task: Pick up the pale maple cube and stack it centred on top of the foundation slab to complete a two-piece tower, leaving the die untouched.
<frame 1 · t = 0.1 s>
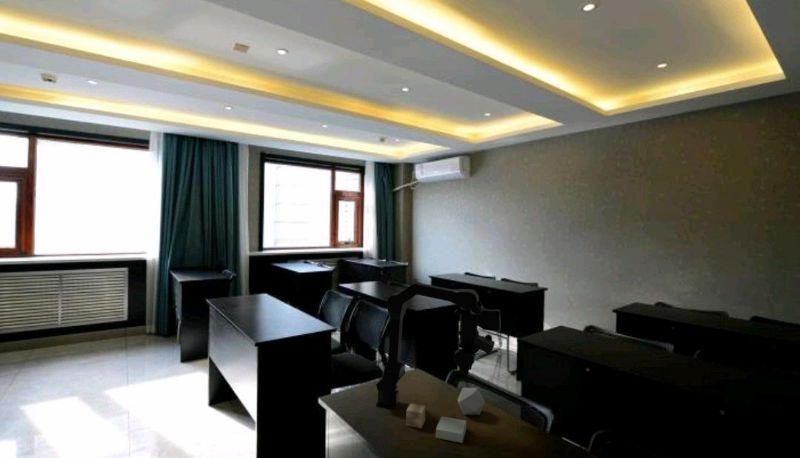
hand: (467, 374, 125), 15 cm above the table, fingers open, 9 cm apart
foundation slab: (451, 434, 116), on the table
die: (470, 413, 129), on the table
maple cube: (415, 423, 122), on the table
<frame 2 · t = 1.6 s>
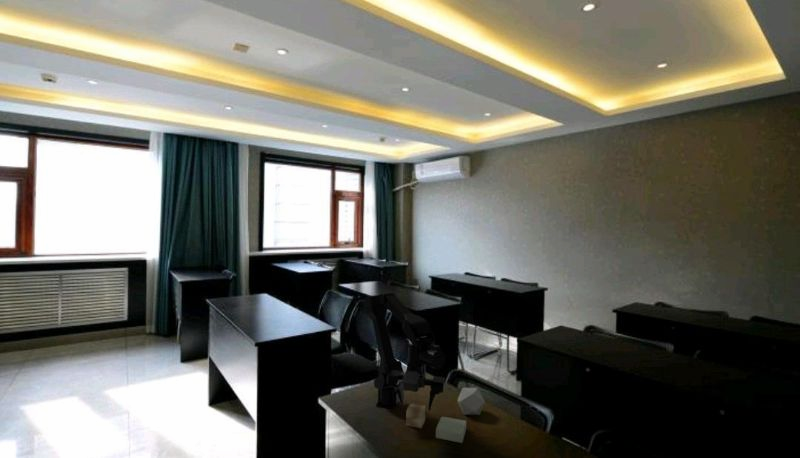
hand: (415, 406, 122), 5 cm above the table, fingers open, 9 cm apart
nothing on the table moved.
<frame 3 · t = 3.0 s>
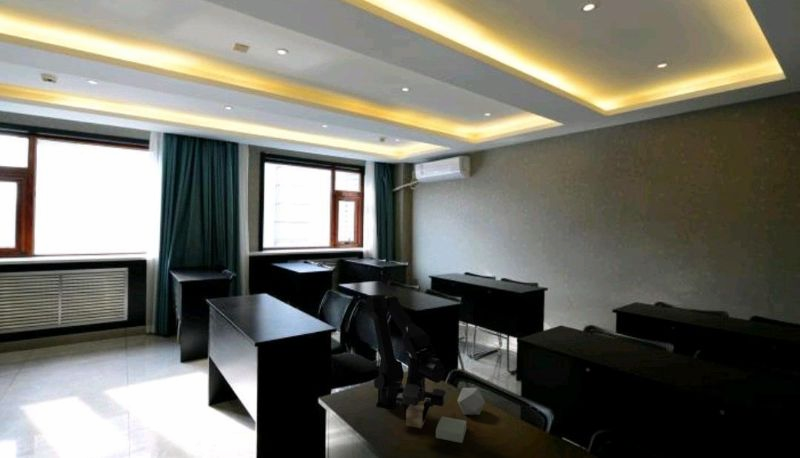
hand: (415, 419, 122), 1 cm above the table, fingers closed on maple cube, 5 cm apart
maple cube: (415, 422, 122), on the table, touching gripper
everything else where it was.
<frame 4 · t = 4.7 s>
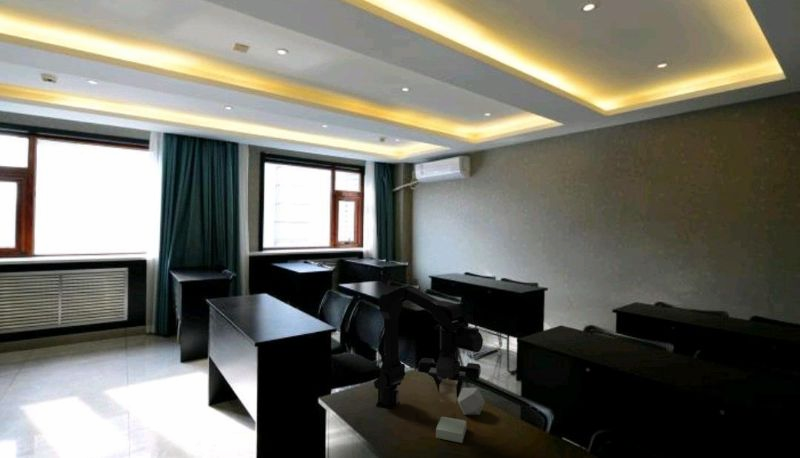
hand: (449, 395, 116), 12 cm above the table, fingers closed on maple cube, 5 cm apart
maple cube: (449, 398, 116), point 11 cm above the table, touching gripper
everything else where it was.
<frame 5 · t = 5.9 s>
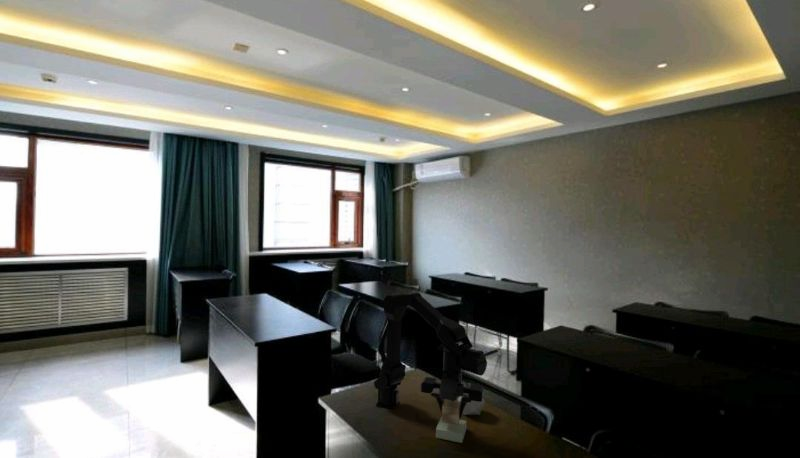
hand: (451, 416, 116), 5 cm above the table, fingers closed on maple cube, 5 cm apart
maple cube: (451, 419, 116), point 4 cm above the table, touching gripper
everything else where it was.
when the fingers open (5 cm above the table, at t = 6.6 s): maple cube drops 2 cm, resting on foundation slab.
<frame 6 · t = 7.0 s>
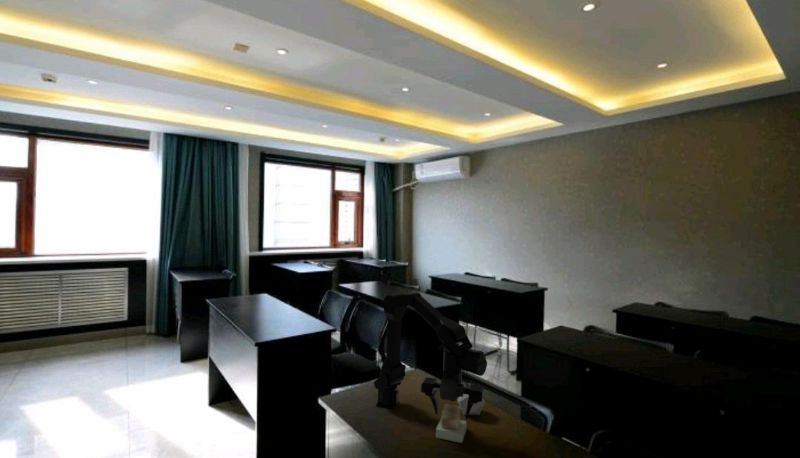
hand: (451, 416, 116), 5 cm above the table, fingers open, 9 cm apart
foundation slab: (451, 434, 116), on the table, touching maple cube
maple cube: (451, 424, 116), point 3 cm above the table, touching foundation slab
everything else where it was.
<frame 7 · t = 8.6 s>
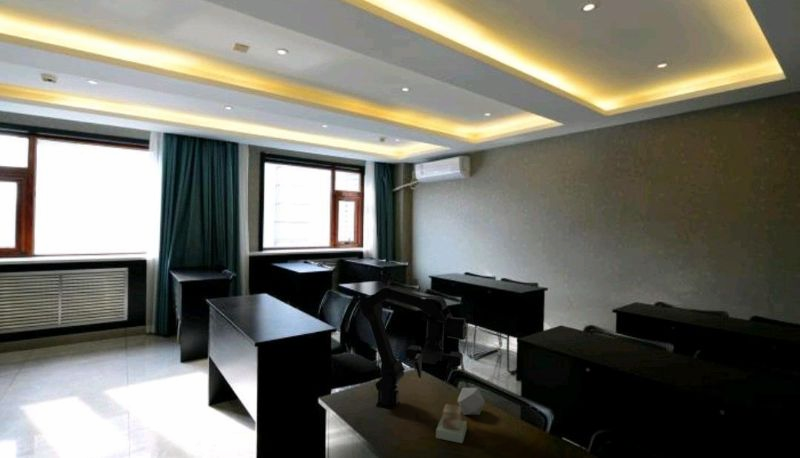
hand: (433, 380, 127), 12 cm above the table, fingers open, 9 cm apart
foundation slab: (451, 435, 116), on the table
maple cube: (451, 424, 116), point 3 cm above the table
everything else where it was.
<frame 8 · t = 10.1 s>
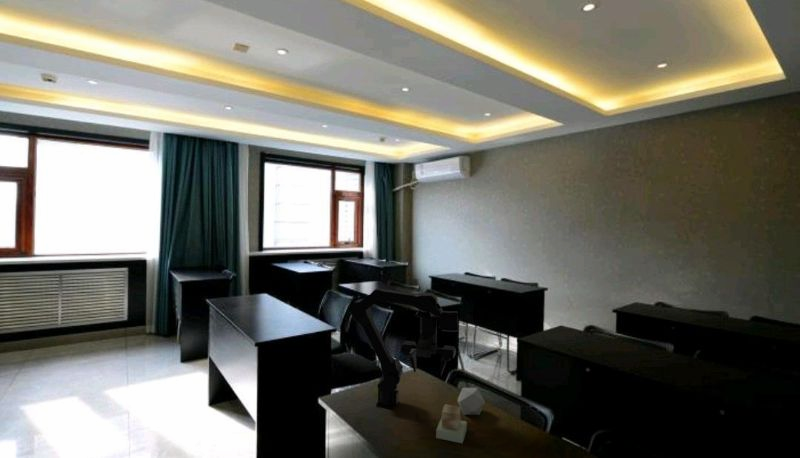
hand: (427, 373, 132), 12 cm above the table, fingers open, 9 cm apart
foundation slab: (451, 435, 116), on the table, touching maple cube
maple cube: (451, 425, 116), point 3 cm above the table, touching foundation slab
everything else where it was.
at the end: maple cube 0.2 cm off-centre on the foundation slab, point 3.1 cm above the foundation slab's base; maple cube tilted 1°; the gripper is holding nothing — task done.
